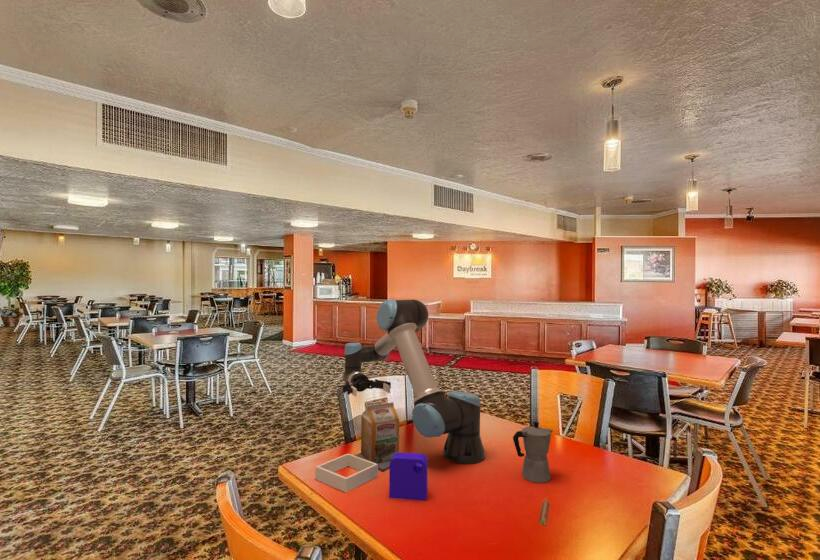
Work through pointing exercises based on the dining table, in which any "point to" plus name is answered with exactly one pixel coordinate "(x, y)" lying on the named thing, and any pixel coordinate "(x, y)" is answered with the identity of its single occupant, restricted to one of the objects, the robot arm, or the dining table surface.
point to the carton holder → (346, 484)
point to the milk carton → (379, 432)
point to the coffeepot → (534, 452)
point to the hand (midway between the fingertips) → (372, 391)
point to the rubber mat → (381, 466)
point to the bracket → (408, 476)
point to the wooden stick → (544, 512)
